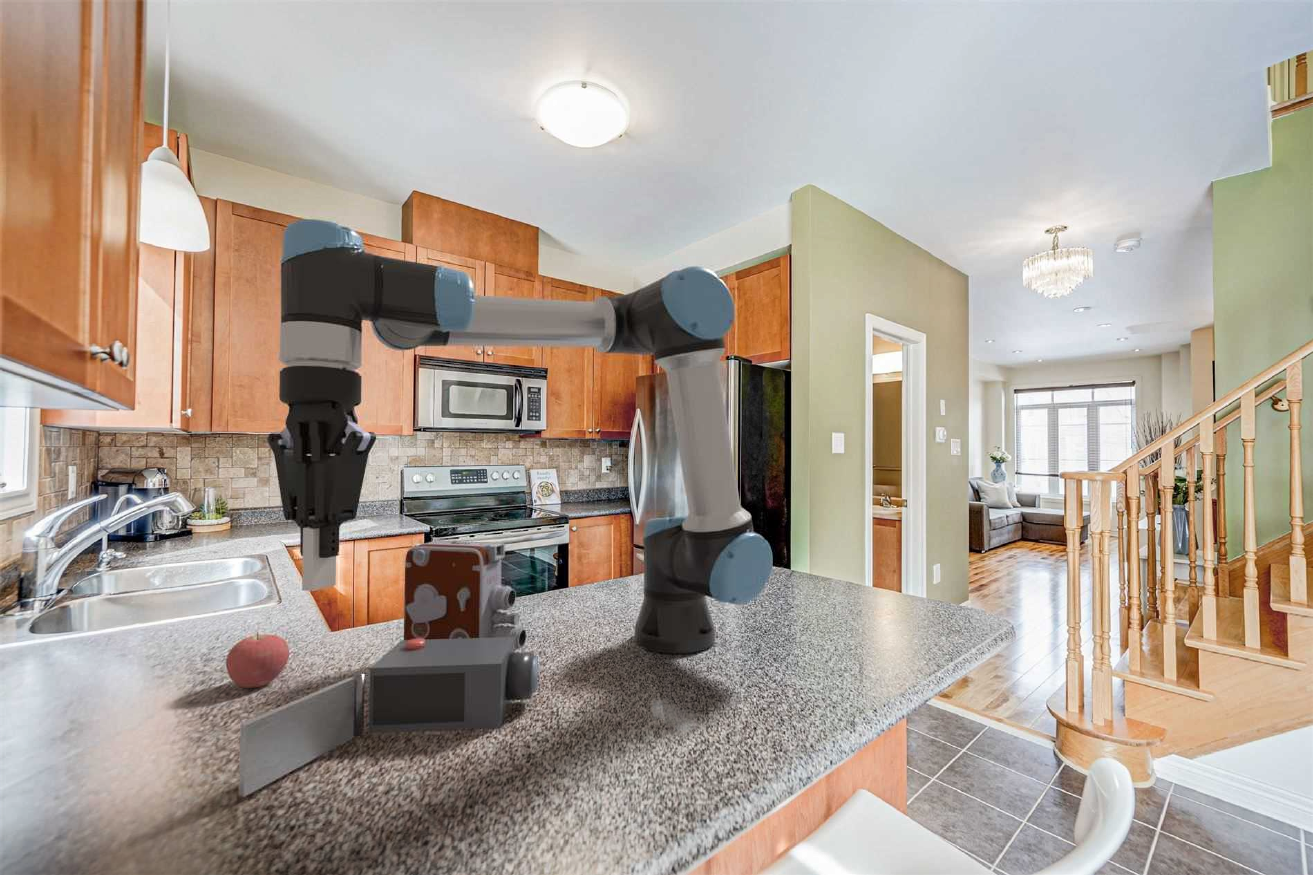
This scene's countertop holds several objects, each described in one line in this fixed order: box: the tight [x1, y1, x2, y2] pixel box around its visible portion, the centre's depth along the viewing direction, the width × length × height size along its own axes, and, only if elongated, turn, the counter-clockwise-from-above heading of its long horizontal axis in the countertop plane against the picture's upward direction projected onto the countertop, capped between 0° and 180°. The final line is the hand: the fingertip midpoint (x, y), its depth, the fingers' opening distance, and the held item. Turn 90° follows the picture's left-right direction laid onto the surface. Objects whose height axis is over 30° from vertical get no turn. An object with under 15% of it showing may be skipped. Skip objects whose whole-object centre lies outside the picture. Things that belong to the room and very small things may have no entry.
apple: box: [225, 630, 290, 689], centre depth 79 cm, size 7×7×8 cm
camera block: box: [368, 637, 539, 735], centre depth 71 cm, size 20×10×9 cm, turn 95°
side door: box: [238, 671, 366, 798], centre depth 59 cm, size 13×2×7 cm, turn 158°
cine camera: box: [403, 540, 527, 650], centre depth 88 cm, size 9×19×20 cm, turn 78°
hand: (319, 587), depth 57 cm, fingers closed
